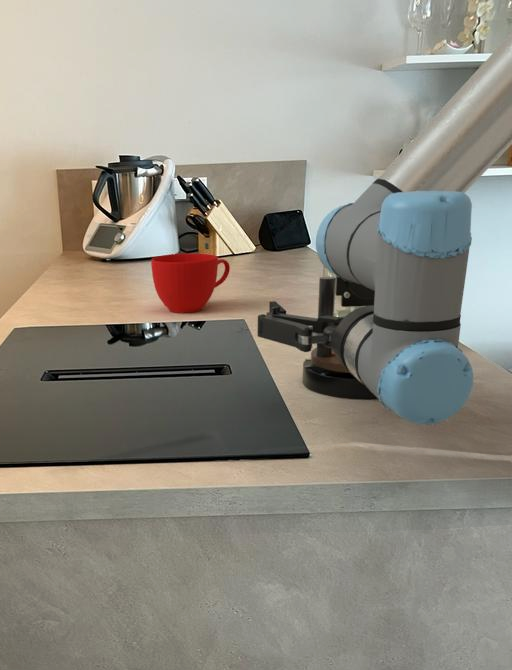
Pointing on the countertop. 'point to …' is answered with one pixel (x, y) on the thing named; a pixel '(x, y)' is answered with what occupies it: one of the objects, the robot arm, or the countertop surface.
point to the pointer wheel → (326, 307)
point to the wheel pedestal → (333, 382)
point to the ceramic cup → (186, 280)
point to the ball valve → (350, 294)
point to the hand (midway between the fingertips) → (324, 309)
